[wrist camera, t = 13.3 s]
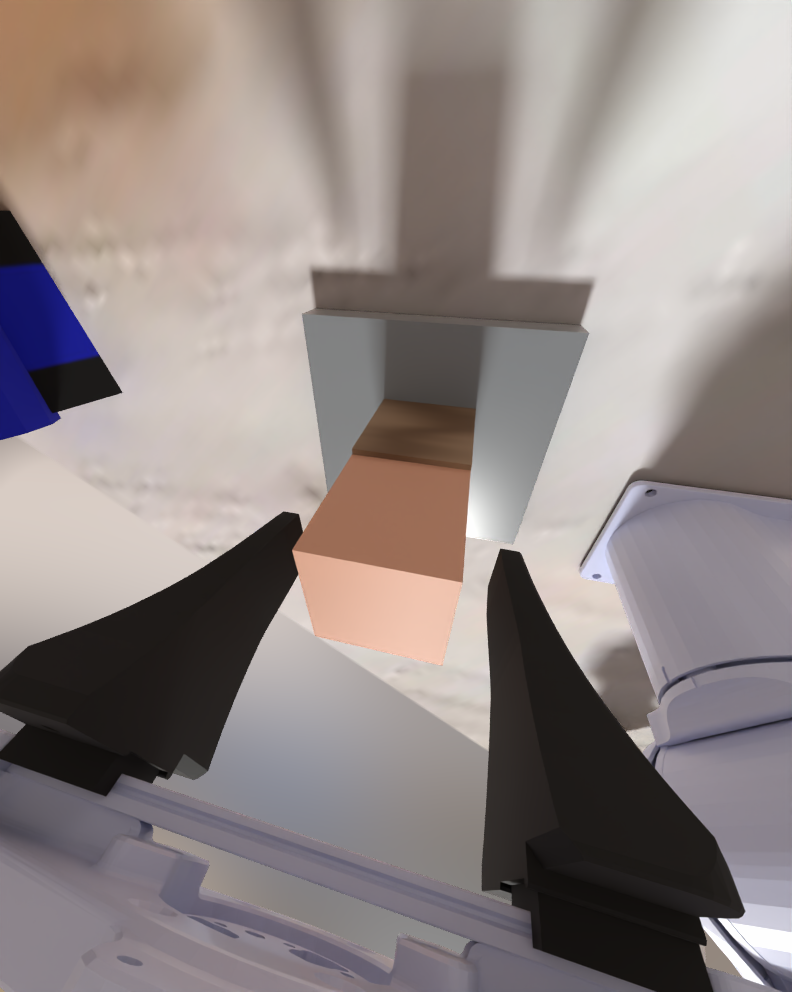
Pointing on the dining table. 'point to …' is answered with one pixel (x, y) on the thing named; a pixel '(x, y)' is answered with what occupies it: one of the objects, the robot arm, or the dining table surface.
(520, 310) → the dining table surface
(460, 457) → the walnut block
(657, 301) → the dining table surface
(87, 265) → the dining table surface
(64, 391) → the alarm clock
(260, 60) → the dining table surface
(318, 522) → the terracotta block
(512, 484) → the base plate
